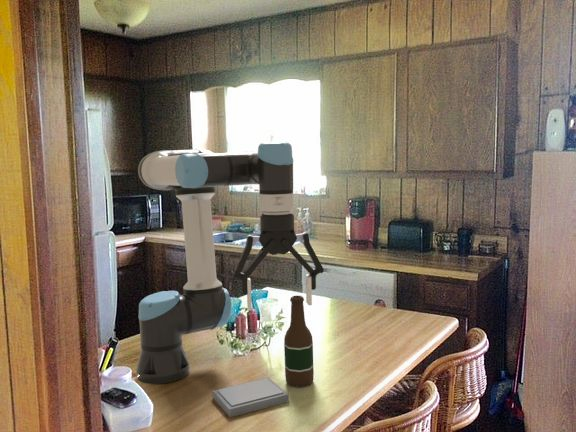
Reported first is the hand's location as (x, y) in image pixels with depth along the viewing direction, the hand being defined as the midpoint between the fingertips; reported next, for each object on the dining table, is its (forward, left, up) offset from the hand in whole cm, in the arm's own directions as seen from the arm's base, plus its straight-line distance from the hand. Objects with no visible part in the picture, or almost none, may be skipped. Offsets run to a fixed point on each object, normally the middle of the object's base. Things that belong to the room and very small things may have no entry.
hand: (279, 305), depth 121 cm
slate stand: (-15, -2, -28) cm, 32 cm away
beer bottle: (-18, +14, -28) cm, 37 cm away
